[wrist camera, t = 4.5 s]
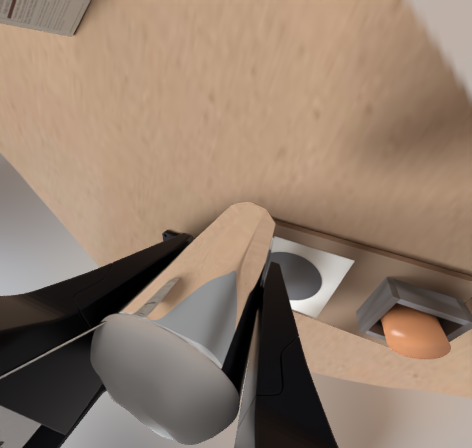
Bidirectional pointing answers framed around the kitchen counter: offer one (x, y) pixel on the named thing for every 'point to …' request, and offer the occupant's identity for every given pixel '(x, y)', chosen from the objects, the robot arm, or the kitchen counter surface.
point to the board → (365, 284)
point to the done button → (414, 333)
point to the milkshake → (187, 331)
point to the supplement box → (44, 14)
